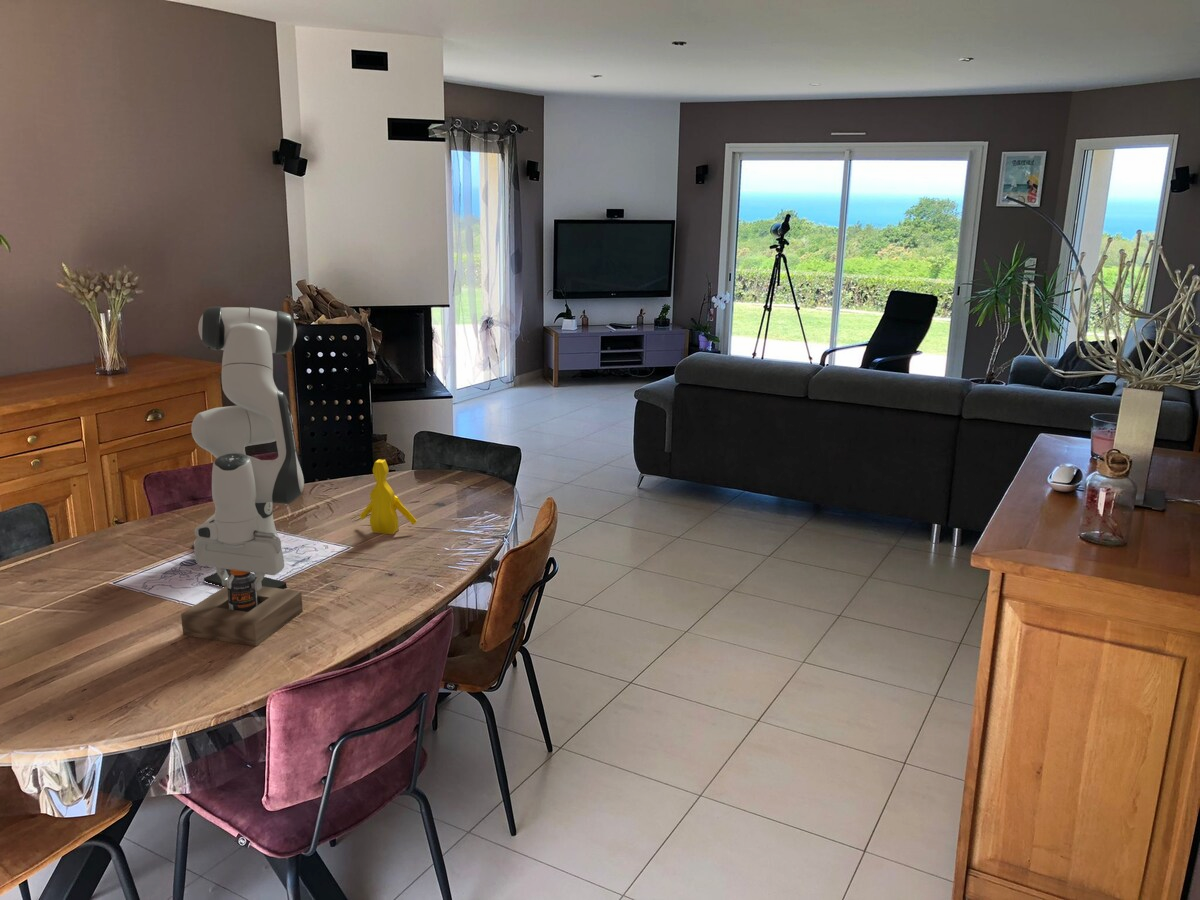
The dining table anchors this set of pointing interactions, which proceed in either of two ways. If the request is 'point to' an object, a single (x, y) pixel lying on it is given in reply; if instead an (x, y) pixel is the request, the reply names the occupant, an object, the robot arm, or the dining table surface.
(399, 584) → the dining table surface
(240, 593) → the pill bottle
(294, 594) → the walnut holder
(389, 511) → the figure statuette
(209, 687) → the dining table surface
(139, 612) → the dining table surface
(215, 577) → the smart home device
